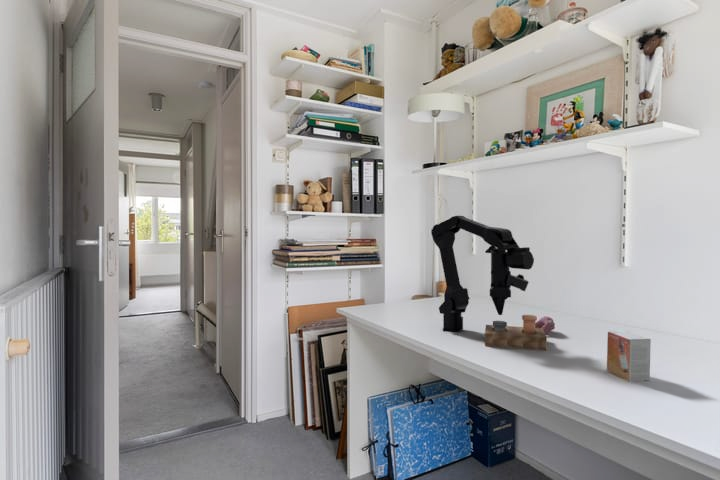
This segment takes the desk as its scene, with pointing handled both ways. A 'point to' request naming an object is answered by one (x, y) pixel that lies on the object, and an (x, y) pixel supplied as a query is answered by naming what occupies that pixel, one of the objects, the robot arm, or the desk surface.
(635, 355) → the small box
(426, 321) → the desk surface
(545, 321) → the video game controller
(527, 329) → the terracotta plug
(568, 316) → the desk surface
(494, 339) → the walnut block
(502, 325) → the grey plug
